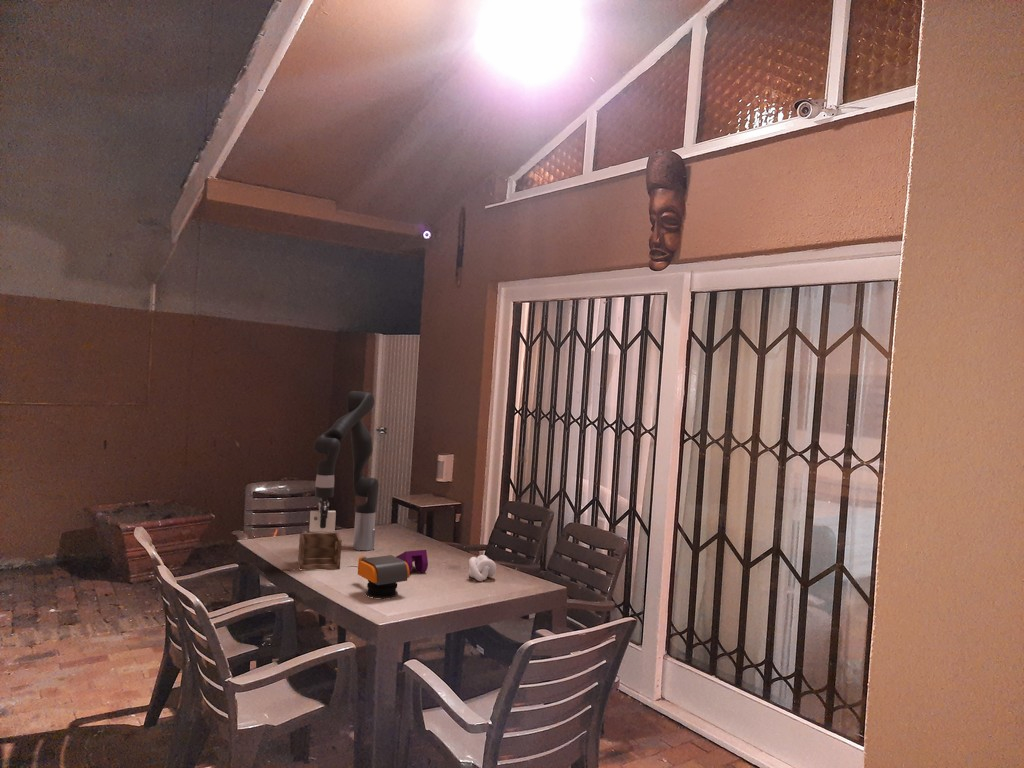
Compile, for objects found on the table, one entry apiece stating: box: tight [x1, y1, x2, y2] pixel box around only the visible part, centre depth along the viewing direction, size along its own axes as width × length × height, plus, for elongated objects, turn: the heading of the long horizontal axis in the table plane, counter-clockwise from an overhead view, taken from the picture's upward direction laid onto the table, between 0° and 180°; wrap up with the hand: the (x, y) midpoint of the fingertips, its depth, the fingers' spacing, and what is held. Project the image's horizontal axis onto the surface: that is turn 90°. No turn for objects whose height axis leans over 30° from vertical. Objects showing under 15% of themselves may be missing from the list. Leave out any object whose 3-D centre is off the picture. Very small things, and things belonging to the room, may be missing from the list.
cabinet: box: [297, 532, 343, 570], centre depth 290 cm, size 16×14×12 cm
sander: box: [357, 554, 411, 600], centre depth 261 cm, size 15×25×13 cm, turn 39°
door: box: [308, 510, 337, 533], centre depth 287 cm, size 10×4×8 cm, turn 110°
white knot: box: [468, 554, 497, 582], centre depth 285 cm, size 11×12×9 cm
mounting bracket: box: [396, 549, 429, 574], centre depth 293 cm, size 9×8×18 cm
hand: (322, 526), depth 287 cm, fingers closed on door, 3 cm apart
